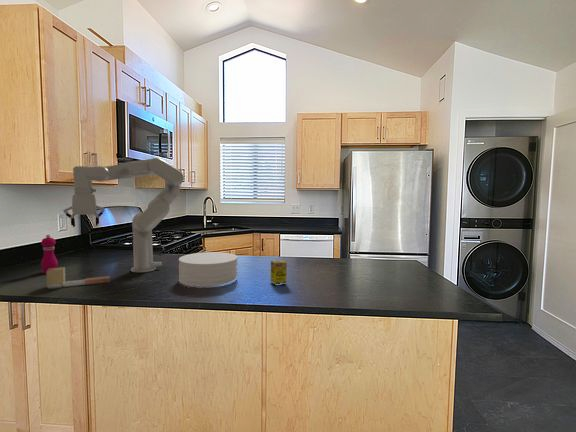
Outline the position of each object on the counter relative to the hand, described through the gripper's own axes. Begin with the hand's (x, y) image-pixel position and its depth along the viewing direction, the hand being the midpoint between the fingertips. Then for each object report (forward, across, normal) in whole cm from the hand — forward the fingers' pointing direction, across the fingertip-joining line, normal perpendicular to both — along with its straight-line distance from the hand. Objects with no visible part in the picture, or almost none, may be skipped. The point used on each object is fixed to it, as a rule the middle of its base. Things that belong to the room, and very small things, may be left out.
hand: (85, 226), depth 157 cm
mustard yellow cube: (+24, +12, +13) cm, 29 cm away
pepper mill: (+26, +18, -19) cm, 37 cm away
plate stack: (+27, -52, +33) cm, 67 cm away
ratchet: (+26, +4, +14) cm, 29 cm away
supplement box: (+28, -80, +55) cm, 101 cm away
